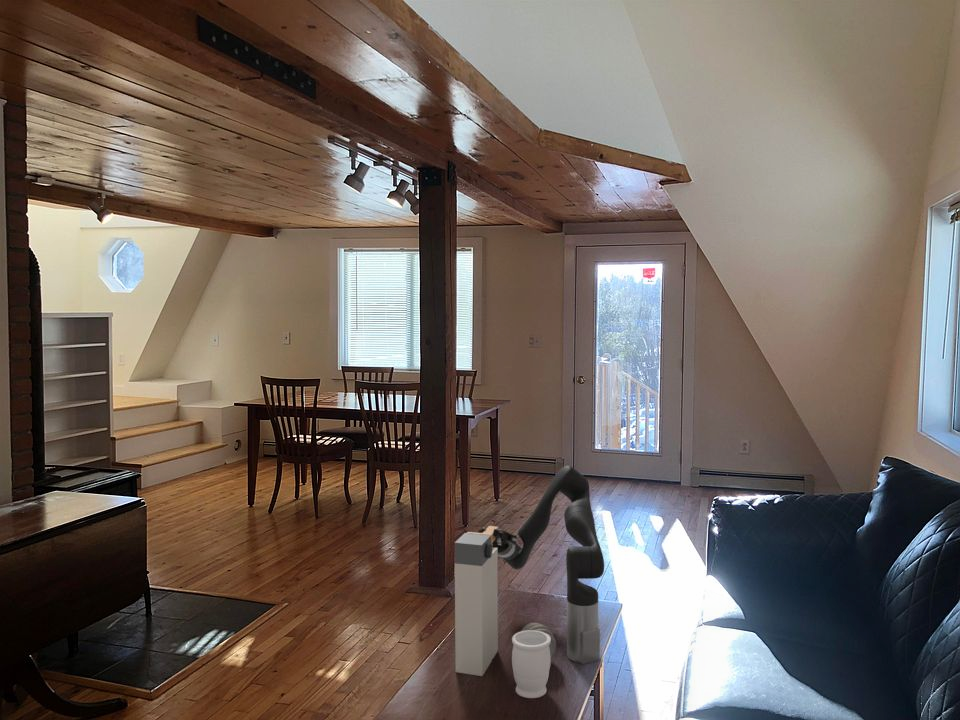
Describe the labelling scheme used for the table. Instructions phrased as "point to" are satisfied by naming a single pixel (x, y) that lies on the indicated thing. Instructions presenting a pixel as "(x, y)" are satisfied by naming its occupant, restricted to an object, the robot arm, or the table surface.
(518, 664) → the jar
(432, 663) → the table surface
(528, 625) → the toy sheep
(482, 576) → the pedestal
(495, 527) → the tan piece
